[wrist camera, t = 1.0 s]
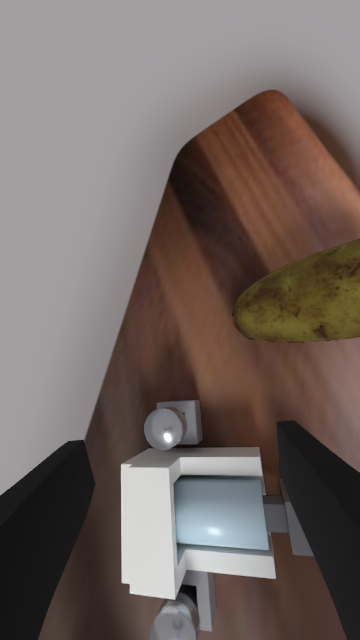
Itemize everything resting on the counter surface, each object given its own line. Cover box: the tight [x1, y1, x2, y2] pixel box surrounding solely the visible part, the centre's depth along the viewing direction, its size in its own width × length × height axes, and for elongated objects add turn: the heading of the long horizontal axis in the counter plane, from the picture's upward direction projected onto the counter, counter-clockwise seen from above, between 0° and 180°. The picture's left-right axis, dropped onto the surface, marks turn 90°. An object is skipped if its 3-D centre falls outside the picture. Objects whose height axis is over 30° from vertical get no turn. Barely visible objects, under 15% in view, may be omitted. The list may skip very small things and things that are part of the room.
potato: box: [232, 239, 360, 343], centre depth 20 cm, size 8×13×8 cm, turn 78°
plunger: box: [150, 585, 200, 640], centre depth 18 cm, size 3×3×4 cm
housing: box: [121, 399, 276, 632], centre depth 20 cm, size 15×10×6 cm, turn 4°
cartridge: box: [173, 478, 314, 557], centre depth 19 cm, size 4×12×5 cm, turn 94°
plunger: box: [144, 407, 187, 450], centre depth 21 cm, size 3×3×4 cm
